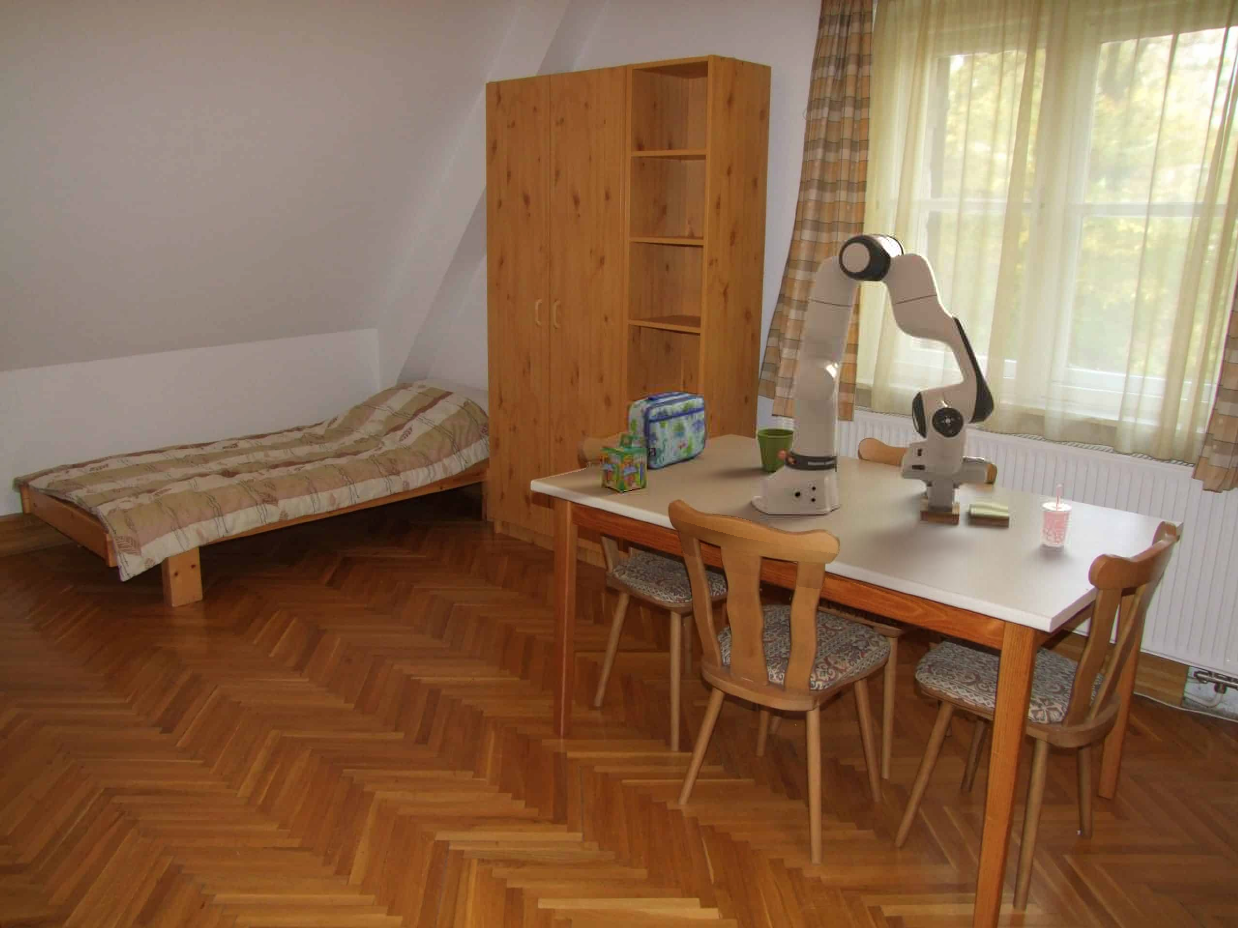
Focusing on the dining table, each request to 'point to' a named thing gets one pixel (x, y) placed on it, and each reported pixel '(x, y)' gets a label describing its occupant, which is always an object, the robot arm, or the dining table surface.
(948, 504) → the housing
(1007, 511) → the stand
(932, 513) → the stand
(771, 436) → the plant pot
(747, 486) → the dining table surface
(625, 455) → the chalk box
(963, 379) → the robot arm
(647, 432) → the lunch box
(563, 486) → the dining table surface
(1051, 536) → the beverage cup
